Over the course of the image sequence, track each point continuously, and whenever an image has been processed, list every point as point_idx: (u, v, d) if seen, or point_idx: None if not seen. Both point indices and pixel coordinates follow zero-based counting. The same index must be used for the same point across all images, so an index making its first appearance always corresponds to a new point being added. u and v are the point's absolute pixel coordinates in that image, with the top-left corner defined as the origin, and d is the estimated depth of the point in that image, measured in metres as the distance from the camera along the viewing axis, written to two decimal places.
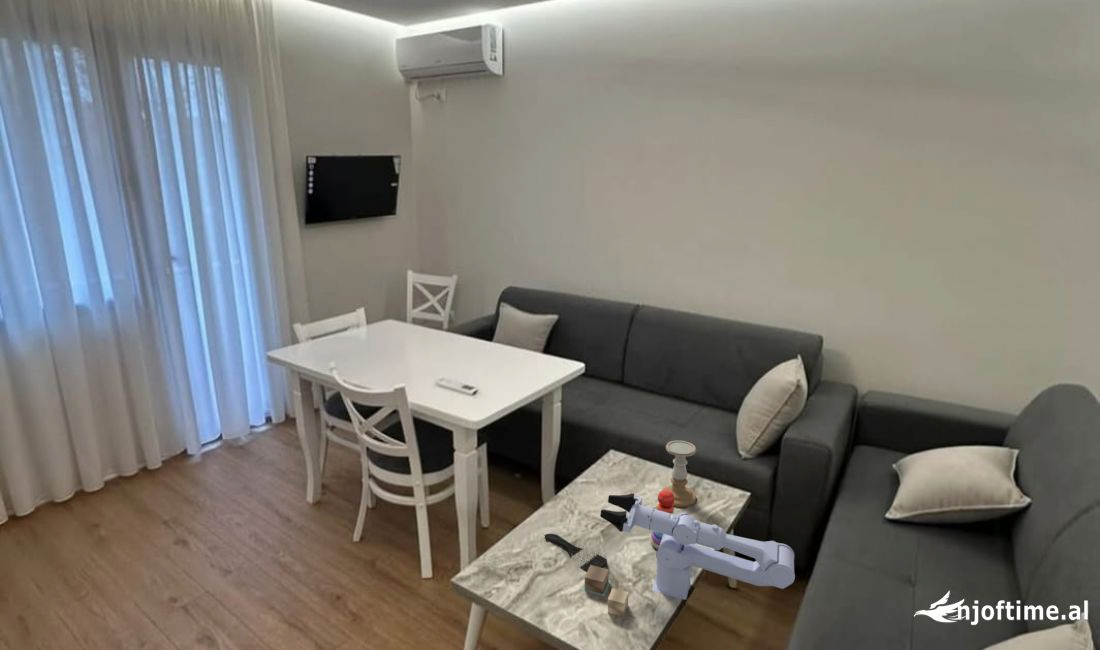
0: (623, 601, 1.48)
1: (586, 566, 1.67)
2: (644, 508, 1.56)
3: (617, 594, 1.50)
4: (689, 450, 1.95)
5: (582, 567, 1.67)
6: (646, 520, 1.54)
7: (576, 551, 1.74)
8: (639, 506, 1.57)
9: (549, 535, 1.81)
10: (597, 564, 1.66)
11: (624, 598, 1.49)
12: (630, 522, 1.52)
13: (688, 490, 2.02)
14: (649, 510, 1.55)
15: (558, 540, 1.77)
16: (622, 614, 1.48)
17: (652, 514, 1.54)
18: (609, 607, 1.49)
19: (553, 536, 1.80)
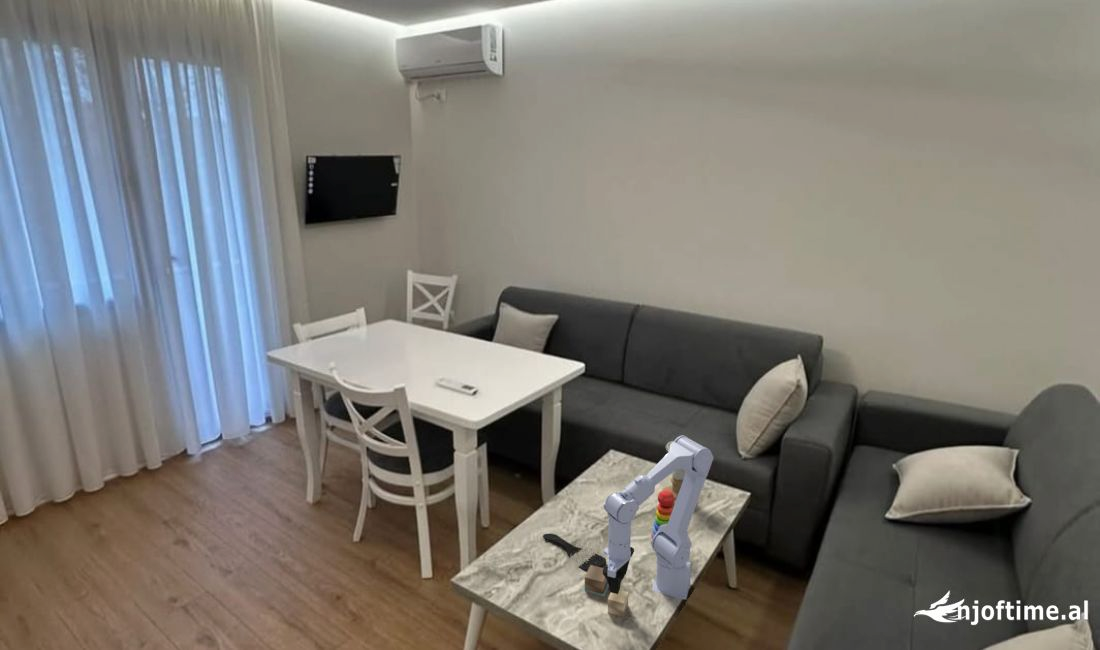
0: (623, 601, 1.48)
1: (585, 566, 1.67)
2: None
3: (617, 594, 1.50)
4: None
5: (581, 567, 1.67)
6: (613, 547, 1.43)
7: (575, 551, 1.74)
8: None
9: (548, 535, 1.81)
10: (596, 563, 1.67)
11: (624, 598, 1.49)
12: (608, 566, 1.42)
13: None
14: None
15: (557, 540, 1.77)
16: (622, 614, 1.48)
17: (608, 538, 1.45)
18: (609, 607, 1.49)
19: (552, 536, 1.80)
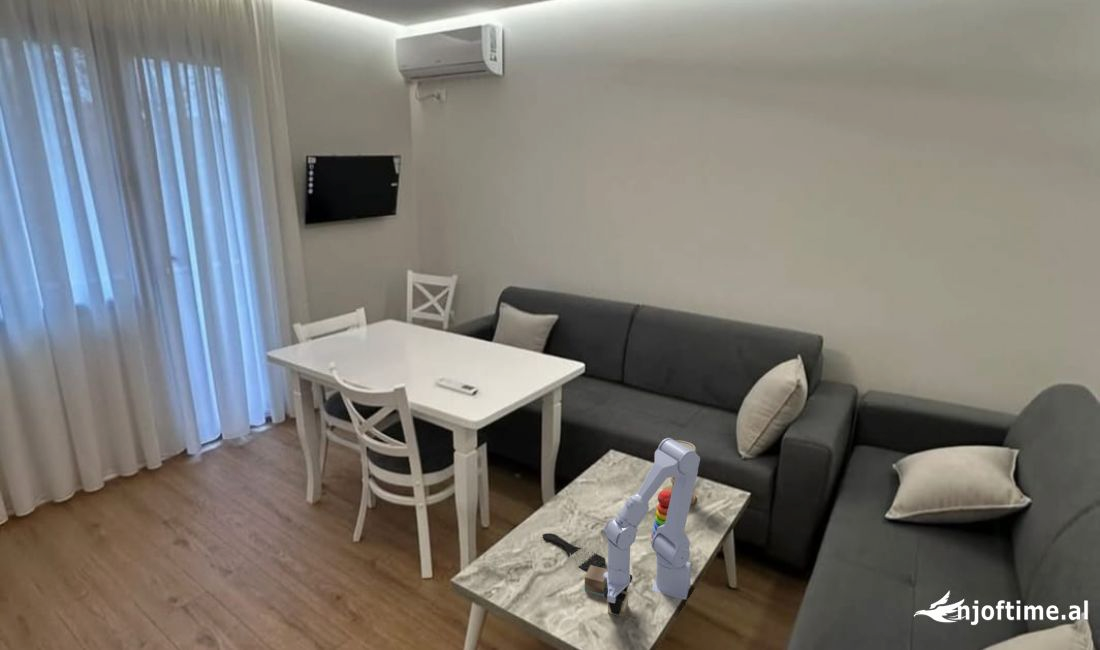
0: (623, 601, 1.48)
1: (584, 565, 1.67)
2: None
3: None
4: None
5: (581, 567, 1.67)
6: (612, 572, 1.45)
7: (574, 550, 1.74)
8: None
9: (547, 535, 1.81)
10: (595, 563, 1.67)
11: None
12: (608, 592, 1.44)
13: None
14: None
15: (556, 540, 1.77)
16: (622, 614, 1.48)
17: (608, 563, 1.47)
18: (609, 607, 1.49)
19: (551, 536, 1.80)
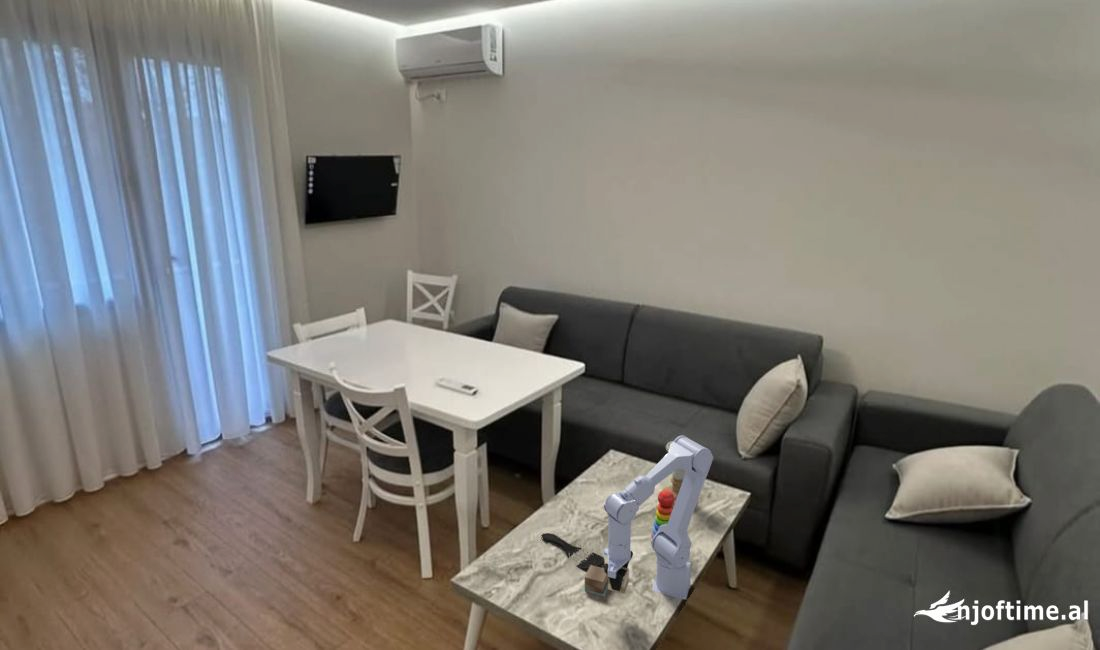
0: (624, 577, 1.46)
1: (583, 565, 1.67)
2: None
3: None
4: None
5: (580, 566, 1.67)
6: (613, 547, 1.43)
7: (573, 550, 1.74)
8: None
9: (546, 535, 1.81)
10: (594, 563, 1.67)
11: (625, 574, 1.47)
12: (608, 567, 1.42)
13: None
14: None
15: (555, 539, 1.77)
16: (623, 590, 1.46)
17: (608, 539, 1.45)
18: (609, 583, 1.47)
19: (550, 536, 1.80)
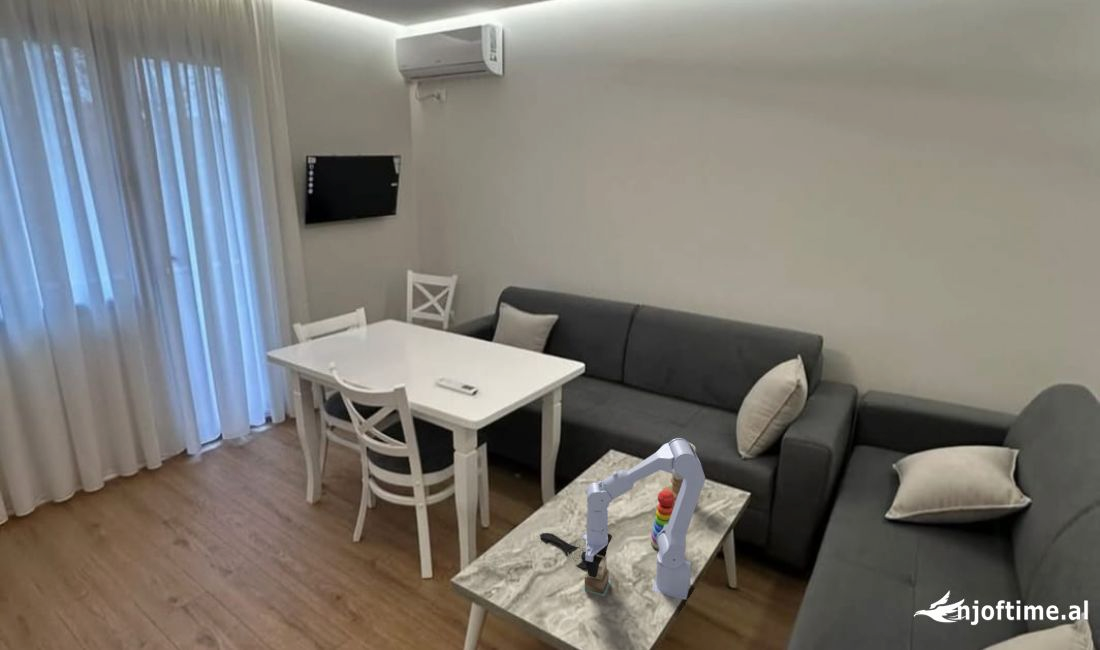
0: (601, 565, 1.55)
1: (583, 564, 1.68)
2: None
3: None
4: None
5: (579, 566, 1.67)
6: (590, 533, 1.53)
7: (572, 550, 1.74)
8: None
9: (545, 534, 1.82)
10: None
11: (602, 562, 1.56)
12: (586, 551, 1.51)
13: None
14: None
15: (554, 539, 1.78)
16: (600, 577, 1.56)
17: None
18: None
19: (549, 535, 1.80)
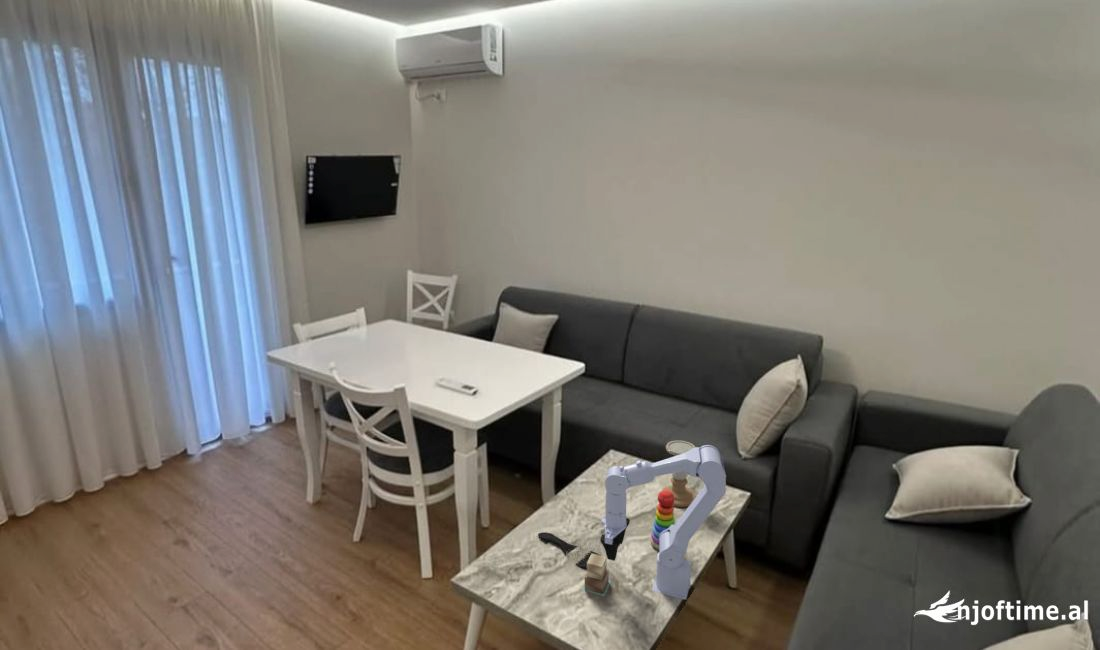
0: (601, 565, 1.55)
1: (581, 563, 1.68)
2: None
3: (596, 558, 1.58)
4: None
5: (578, 564, 1.68)
6: (609, 516, 1.54)
7: (571, 549, 1.75)
8: None
9: (543, 534, 1.82)
10: None
11: (602, 562, 1.56)
12: None
13: (688, 490, 2.02)
14: None
15: (552, 538, 1.78)
16: (600, 577, 1.56)
17: None
18: (588, 571, 1.57)
19: (547, 535, 1.81)
